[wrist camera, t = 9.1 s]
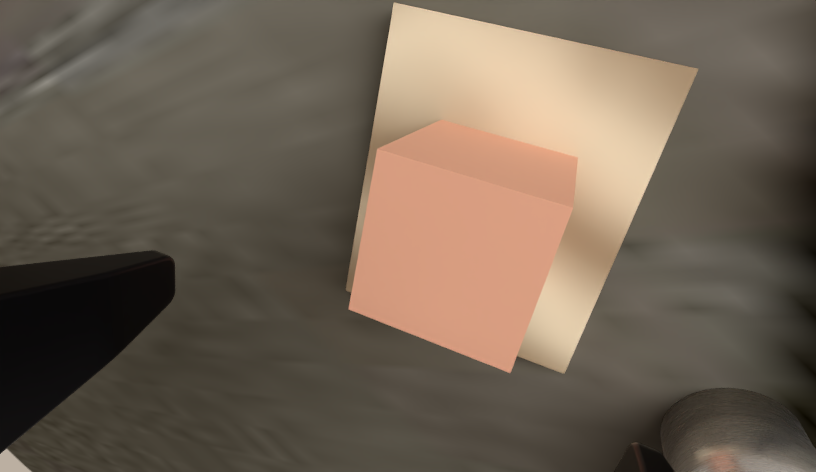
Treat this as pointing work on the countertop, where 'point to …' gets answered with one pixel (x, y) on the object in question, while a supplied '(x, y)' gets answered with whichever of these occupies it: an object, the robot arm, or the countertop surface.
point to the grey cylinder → (734, 434)
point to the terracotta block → (462, 237)
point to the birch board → (537, 136)
